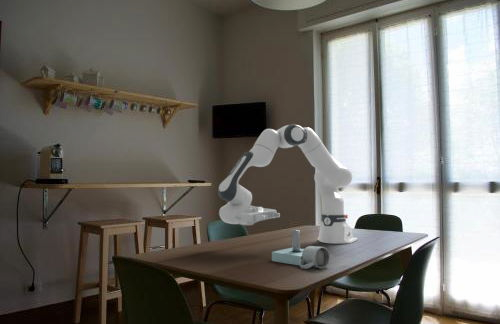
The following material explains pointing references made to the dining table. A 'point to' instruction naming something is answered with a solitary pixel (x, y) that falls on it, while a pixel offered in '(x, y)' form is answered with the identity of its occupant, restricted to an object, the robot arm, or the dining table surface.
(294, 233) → the pin
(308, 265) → the ceramic mug
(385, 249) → the dining table surface
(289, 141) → the robot arm
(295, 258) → the socket block
